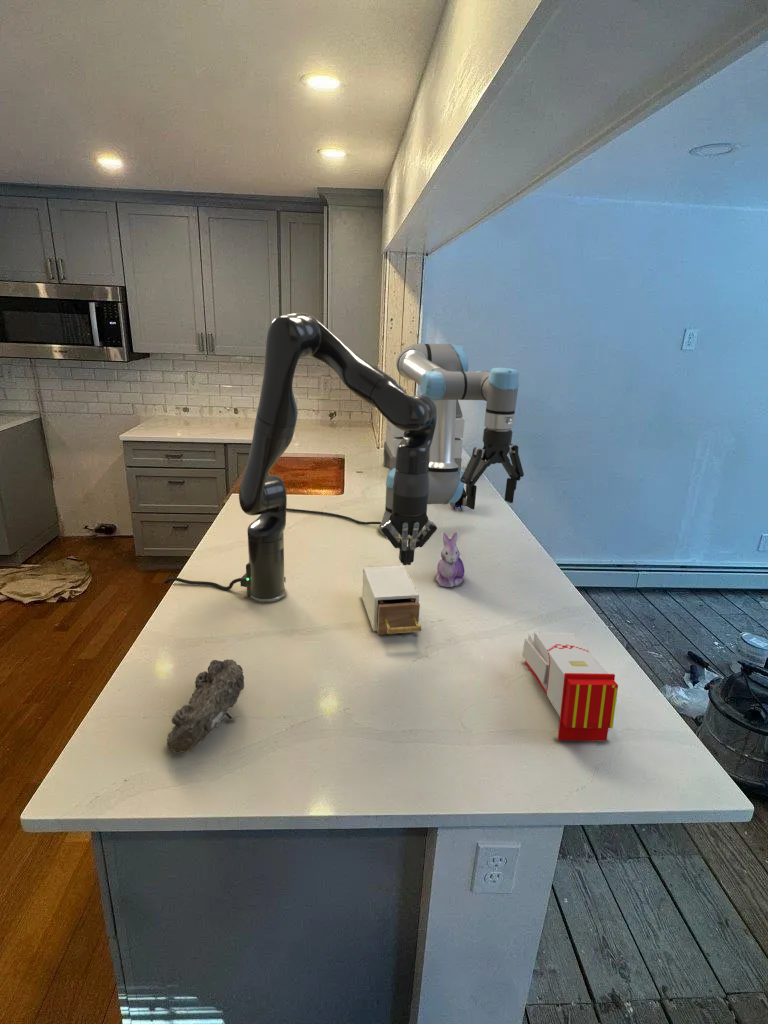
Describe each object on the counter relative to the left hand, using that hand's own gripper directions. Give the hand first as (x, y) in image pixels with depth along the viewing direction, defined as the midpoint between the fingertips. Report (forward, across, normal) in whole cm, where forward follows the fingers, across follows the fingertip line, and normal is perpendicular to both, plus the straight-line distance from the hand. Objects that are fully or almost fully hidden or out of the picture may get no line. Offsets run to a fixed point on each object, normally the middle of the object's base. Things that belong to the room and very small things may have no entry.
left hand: (406, 563), depth 127 cm
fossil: (+21, -42, -19) cm, 50 cm away
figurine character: (+21, +45, +95) cm, 107 cm away
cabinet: (+21, 0, +15) cm, 26 cm away
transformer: (+21, +43, +144) cm, 151 cm away
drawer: (+20, 0, +8) cm, 22 cm away
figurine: (+21, +22, +30) cm, 43 cm away
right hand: (-4, +30, +27) cm, 41 cm away
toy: (+21, +29, -23) cm, 42 cm away
